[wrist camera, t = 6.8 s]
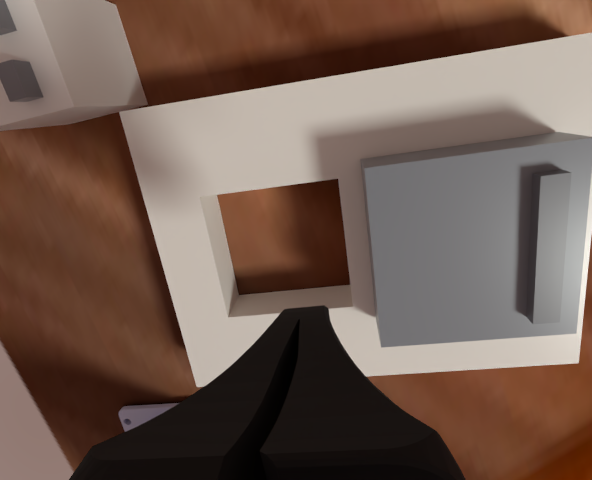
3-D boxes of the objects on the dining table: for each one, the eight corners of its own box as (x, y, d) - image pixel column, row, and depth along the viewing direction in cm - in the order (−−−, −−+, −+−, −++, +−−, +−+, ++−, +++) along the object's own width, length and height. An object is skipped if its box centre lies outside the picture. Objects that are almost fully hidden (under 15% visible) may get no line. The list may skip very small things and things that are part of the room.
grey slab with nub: (547, 304, 19) (585, 341, 16) (375, 319, 20) (382, 355, 17) (558, 131, 16) (606, 138, 13) (360, 158, 17) (365, 170, 14)
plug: (148, 104, 20) (60, 107, 13) (69, 124, 20) (-51, 135, 14) (116, 5, 18) (0, -45, 12) (32, 29, 19) (-119, -5, 13)
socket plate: (552, 334, 22) (578, 363, 20) (209, 359, 25) (196, 386, 22) (573, 38, 17) (611, 29, 15) (144, 110, 20) (118, 111, 17)
